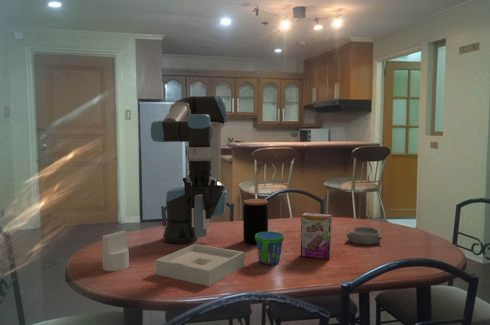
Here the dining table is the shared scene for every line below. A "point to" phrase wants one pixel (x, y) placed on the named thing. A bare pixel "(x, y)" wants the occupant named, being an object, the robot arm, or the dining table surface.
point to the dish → (364, 235)
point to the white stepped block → (115, 251)
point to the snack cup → (269, 247)
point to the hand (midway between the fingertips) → (200, 227)
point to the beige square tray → (200, 264)
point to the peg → (199, 216)
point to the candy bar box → (316, 235)
